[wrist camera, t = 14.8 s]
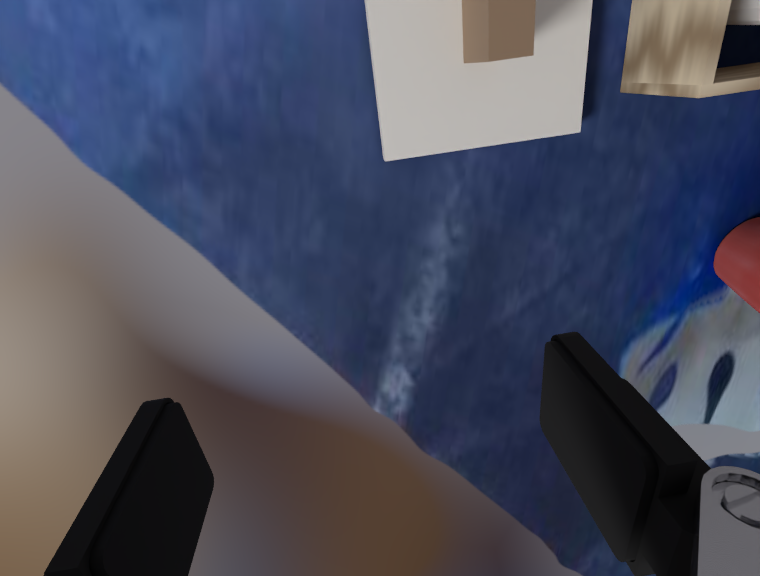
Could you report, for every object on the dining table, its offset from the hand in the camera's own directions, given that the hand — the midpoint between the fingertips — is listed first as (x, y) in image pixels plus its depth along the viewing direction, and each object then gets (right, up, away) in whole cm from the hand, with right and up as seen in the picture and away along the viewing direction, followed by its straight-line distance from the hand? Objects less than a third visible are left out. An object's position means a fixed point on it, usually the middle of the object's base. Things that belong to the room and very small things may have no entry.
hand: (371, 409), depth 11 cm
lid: (+8, +25, +21) cm, 34 cm away
